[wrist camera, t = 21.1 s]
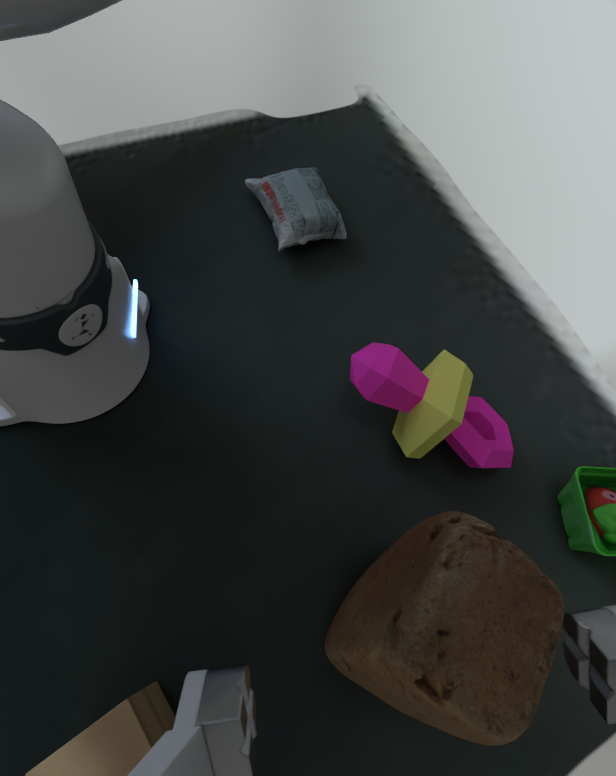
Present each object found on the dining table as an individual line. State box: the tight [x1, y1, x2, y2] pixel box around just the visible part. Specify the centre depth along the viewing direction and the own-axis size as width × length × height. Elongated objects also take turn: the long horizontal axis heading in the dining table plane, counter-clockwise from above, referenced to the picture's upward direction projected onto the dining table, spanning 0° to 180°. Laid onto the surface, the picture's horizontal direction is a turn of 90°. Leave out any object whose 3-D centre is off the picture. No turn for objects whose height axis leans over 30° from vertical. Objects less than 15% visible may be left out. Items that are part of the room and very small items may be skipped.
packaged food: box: [245, 167, 347, 251], centre depth 56 cm, size 9×12×5 cm
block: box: [325, 511, 564, 746], centre depth 31 cm, size 11×8×20 cm
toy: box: [350, 343, 514, 468], centre depth 45 cm, size 10×18×10 cm, turn 69°
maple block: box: [25, 681, 175, 776], centre depth 29 cm, size 6×6×11 cm
